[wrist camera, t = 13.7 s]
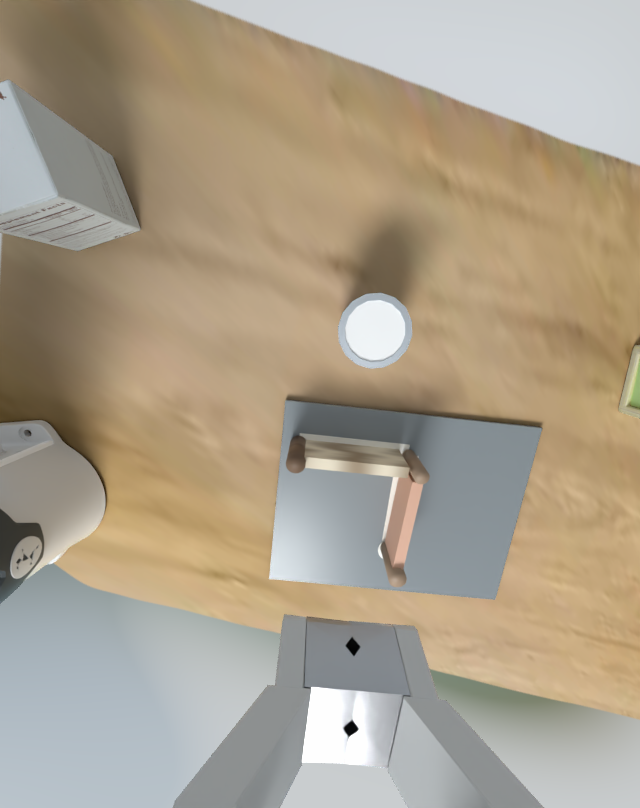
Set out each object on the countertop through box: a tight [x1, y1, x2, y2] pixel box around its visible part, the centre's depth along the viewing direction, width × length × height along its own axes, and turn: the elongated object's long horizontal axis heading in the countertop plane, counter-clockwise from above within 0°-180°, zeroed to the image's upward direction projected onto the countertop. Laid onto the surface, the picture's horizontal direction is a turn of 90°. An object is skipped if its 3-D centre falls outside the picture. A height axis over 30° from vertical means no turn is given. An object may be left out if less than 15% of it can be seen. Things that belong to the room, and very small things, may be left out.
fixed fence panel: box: [286, 435, 410, 478], centre depth 40 cm, size 13×2×6 cm, turn 84°
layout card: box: [269, 400, 542, 600], centre depth 45 cm, size 30×24×1 cm
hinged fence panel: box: [380, 450, 430, 587], centre depth 42 cm, size 14×2×6 cm, turn 172°
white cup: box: [338, 293, 412, 368], centre depth 37 cm, size 7×7×7 cm
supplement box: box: [0, 80, 141, 251], centre depth 31 cm, size 7×7×13 cm
